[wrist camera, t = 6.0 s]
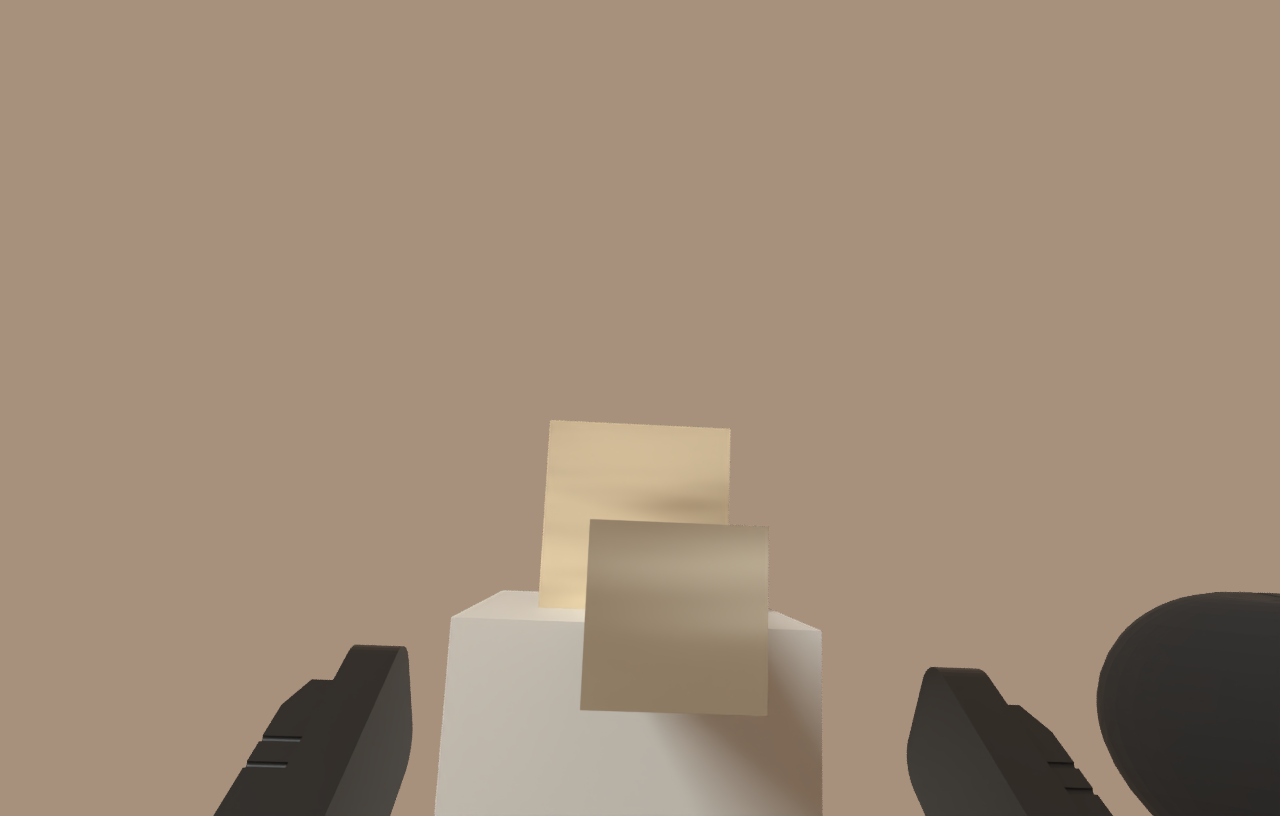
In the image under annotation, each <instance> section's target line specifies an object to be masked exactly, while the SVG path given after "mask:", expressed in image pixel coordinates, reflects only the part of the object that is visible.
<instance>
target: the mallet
mask: <svg viewBox="0 0 1280 816" xmlns="http://www.w3.org/2000/svg"><path fill="white" fill-rule="evenodd" d="M548 449H549V450H548V463H547V479H546V494H545V511H544V525H543V541H542V556H541V572H540V588H539V603H538V608H563V609H585V623H584V642H583V661H582V680H581V699H580V710H588V711H620V712H652V713H683V714H715V715H747V716H767V701H768V582H769V578H768V577H769V527H765V526H743V525H742V526H741V525H729V474H730V473H729V472H730V429H724V428H723V429H722V428H703V427H682V426H661V425H640V424H620V423H598V422H578V421H558V420H550V431H549V447H548Z"/></svg>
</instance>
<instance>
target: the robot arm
mask: <svg viewBox="0 0 1280 816" xmlns="http://www.w3.org/2000/svg"><path fill="white" fill-rule="evenodd" d="M1097 713H1098V720H1099V725H1100V729H1101V733H1102V735H1103V739H1104V742H1105V744H1106V746H1107V748H1108V751H1109V753H1110V755H1111V757H1112V759H1113V762H1114V764H1115V766H1116V767H1117V769H1118V770H1119V772H1120V774H1121V775H1122V777H1123V778H1124V780H1125V781H1126V783H1127V785H1128V786H1129V788H1130V789H1131V790H1132V791H1133V793H1134V794H1135V795H1136V796H1137V797H1138V799H1139V800H1140V801H1141V802H1142V803H1143V805H1144V806H1145V807H1146V808H1147V809H1148V811H1149V812H1150V813H1151V814H1152V815H1153V816H1280V594H1277V593H1251V592H1214V593H1206V594H1199V595H1192V596H1187V597H1182V598H1179V599H1176V600H1173V601H1170V602H1167V603H1165V604H1162V605H1160V606H1158V607H1156V608H1154V609H1152V610H1151V611H1149V612H1147V613H1145V614H1144V615H1142V616H1141V617H1140V618H1138V619H1137V620H1135V621H1134V622H1133V623H1132V624H1131V625H1130V626H1129V627H1127V628H1126V629H1125V631H1124V632H1123V633H1122V634H1121V635H1120V636H1119V638H1118V639H1117V641H1116V642H1115V644H1114V645H1113V647H1112V648H1111V650H1110V651H1109V653H1108V655H1107V657H1106V660H1105V662H1104V665H1103V667H1102V670H1101V672H1100V677H1099V683H1098V689H1097ZM411 742H412V709H411V692H410V676H409V659H408V652H407V649H406V648H405V647H404V646H377V645H354V646H353V647H352V648H351V649H350V650H349V652H348V654H347V655H346V658H345V659H344V661H343V663H342V665H341V667H340V668H339V670H338V672H337V674H336V676H335V678H334V679H333V680H313V679H312V680H311V681H309V682H308V683H307V684H306V685H305V686H303V687H302V688H301V689H300V690H299V691H297V692H296V693H295V694H294V695H293V696H291V697H290V698H289V699H288V700H287V701H285V702H284V703H283V704H282V705H281V707H280V708H279V710H278V712H277V713H276V715H275V716H274V718H273V720H272V721H271V723H270V724H269V726H268V728H267V729H266V731H265V733H264V734H263V739H262V741H260V742H258V744H257V746H256V748H255V749H254V750H253V752H252V754H251V755H250V757H249V759H248V760H247V765H246V768H242V770H241V772H240V773H239V775H238V777H237V778H236V780H235V782H234V783H233V785H232V787H231V788H230V790H229V791H228V793H227V795H226V796H225V798H224V799H223V801H222V803H221V804H220V806H219V808H218V809H217V811H216V813H215V814H214V816H390V814H391V812H392V809H393V806H394V803H395V800H396V797H397V794H398V791H399V789H400V786H401V783H402V780H403V777H404V774H405V771H406V768H407V764H408V760H409V755H410V749H411ZM907 764H908V771H909V776H910V780H911V783H912V786H913V789H914V791H915V793H916V795H917V798H918V800H919V802H920V804H921V807H922V809H923V811H924V813H925V816H1113V815H1112V814H1111V813H1110V811H1109V810H1108V808H1107V807H1106V806H1105V804H1104V803H1103V802H1102V800H1101V799H1100V797H1099V796H1098V795H1094V794H1093V788H1092V787H1091V785H1090V784H1089V782H1088V781H1087V780H1086V778H1085V777H1084V776H1083V774H1082V773H1081V771H1080V770H1079V769H1075V767H1074V762H1073V761H1072V759H1071V758H1070V756H1069V755H1068V754H1067V752H1066V751H1065V749H1064V748H1063V747H1062V746H1061V744H1060V743H1059V741H1058V740H1057V738H1056V737H1055V736H1054V734H1053V733H1052V732H1051V731H1050V730H1049V729H1048V728H1046V727H1045V726H1044V725H1043V724H1041V723H1040V722H1039V721H1038V720H1037V719H1035V718H1034V717H1033V716H1032V715H1031V714H1029V713H1028V712H1027V711H1026V710H1024V709H1023V708H1022V707H1021V706H1019V705H1008V704H1007V703H1006V702H1005V700H1004V699H1003V697H1002V696H1001V694H1000V693H999V691H998V690H997V689H996V687H995V686H994V684H993V683H992V681H991V680H990V678H989V677H988V676H987V674H986V673H985V672H983V671H982V670H980V669H970V668H942V667H931V668H929V669H928V670H927V671H926V673H925V675H924V677H923V681H922V685H921V689H920V693H919V698H918V702H917V706H916V710H915V714H914V718H913V723H912V727H911V731H910V735H909V739H908V744H907Z"/></svg>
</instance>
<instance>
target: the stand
mask: <svg viewBox="0 0 1280 816" xmlns="http://www.w3.org/2000/svg"><path fill="white" fill-rule="evenodd" d="M538 603H539V592H533V591H508V590H506V591H505V590H503V591H501V592H499V593H497V594H495V595H493V596H491V597H489V598H487V599H485V600H483V601H481V602H480V603H478V604H476V605H474V606H472V607H470V608H468V609H466V610H464V611H462V612H460V613H459V614H457V615H455V616H453V617H451V626H450V638H449V649H448V661H447V674H446V685H445V696H444V708H443V720H442V732H441V743H440V755H439V767H438V779H437V791H436V802H435V814H434V816H822V638H821V637H822V631H821V630H818V629H816V628H814V627H811V626H809V625H807V624H804V623H802V622H800V621H797V620H795V619H793V618H790V617H788V616H786V615H783V614H781V613H778V612H776V611H774V610H772V609H769V608H768V701H767V716H747V715H715V714H683V713H652V712H620V711H588V710H580V699H581V680H582V661H583V642H584V623H585V609H563V608H538Z"/></svg>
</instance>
